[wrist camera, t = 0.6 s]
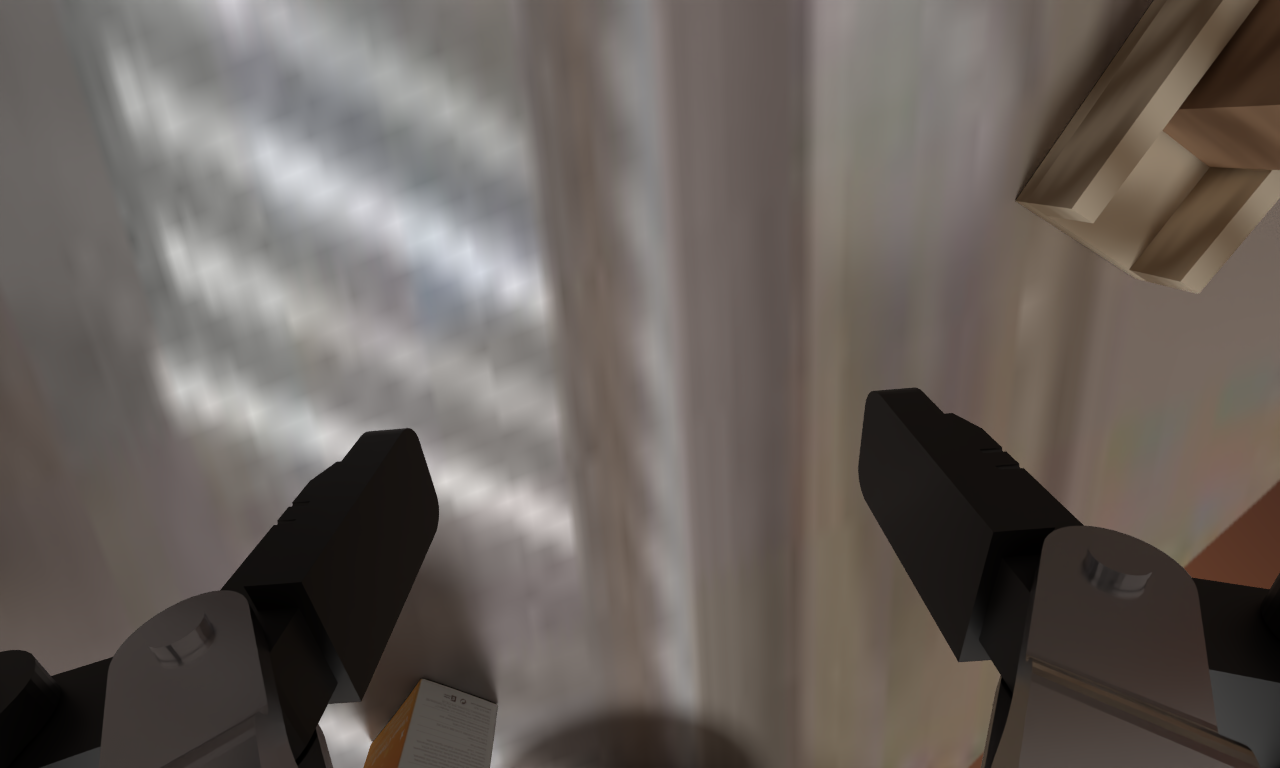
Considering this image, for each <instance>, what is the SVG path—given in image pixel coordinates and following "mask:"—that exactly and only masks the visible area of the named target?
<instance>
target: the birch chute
mask: <svg viewBox="0 0 1280 768" xmlns="http://www.w3.org/2000/svg"><path fill="white" fill-rule="evenodd" d="M1258 1H1259V0H1154V1H1153V2H1152V3H1151V5H1150V6H1149V8H1148V9H1147V11H1146V12H1145V14H1144V15H1143V16H1142V18H1141V19H1140V21H1139V22H1138V24H1137V25H1136V27H1135V28H1134V30H1133V31H1132V32H1131V34H1130V35H1129V37H1128V38H1127V40H1126V41H1125V43H1124V44H1123V46H1122V47H1121V48H1120V50H1119V51H1118V53H1117V54H1116V56H1115V57H1114V59H1113V60H1112V61H1111V63H1110V64H1109V66H1108V67H1107V69H1106V70H1105V72H1104V73H1103V75H1102V76H1101V77H1100V79H1099V80H1098V82H1097V83H1096V85H1095V86H1094V88H1093V89H1092V90H1091V92H1090V93H1089V95H1088V96H1087V98H1086V99H1085V101H1084V102H1083V104H1082V105H1081V106H1080V108H1079V109H1078V111H1077V112H1076V114H1075V115H1074V117H1073V118H1072V119H1071V121H1070V122H1069V124H1068V125H1067V127H1066V128H1065V130H1064V131H1063V133H1062V134H1061V135H1060V137H1059V138H1058V140H1057V141H1056V143H1055V144H1054V146H1053V147H1052V148H1051V150H1050V151H1049V153H1048V154H1047V156H1046V157H1045V159H1044V160H1043V162H1042V163H1041V164H1040V166H1039V167H1038V169H1037V170H1036V172H1035V173H1034V175H1033V176H1032V178H1031V179H1030V180H1029V182H1028V183H1027V185H1026V186H1025V188H1024V189H1023V191H1022V192H1021V193H1020V195H1019V196H1018V198H1017V199H1016V202H1018V203H1019V204H1021V205H1022V206H1024V207H1025V208H1027V209H1028V210H1030V211H1032V212H1033V213H1035V214H1036V215H1038V216H1039V217H1041V218H1042V219H1044V220H1045V221H1047V222H1049V223H1050V224H1052V225H1053V226H1055V227H1056V228H1058V229H1059V230H1061V231H1062V232H1064V233H1065V234H1067V235H1069V236H1070V237H1072V238H1073V239H1075V240H1076V241H1078V242H1079V243H1081V244H1082V245H1084V246H1086V247H1087V248H1089V249H1090V250H1092V251H1093V252H1095V253H1096V254H1098V255H1099V256H1101V257H1102V258H1104V259H1106V260H1107V261H1109V262H1110V263H1112V264H1113V265H1115V266H1116V267H1118V268H1119V269H1121V270H1123V271H1124V272H1126V273H1127V274H1129V275H1130V276H1132V277H1133V278H1136V279H1140V280H1144V281H1148V282H1152V283H1156V284H1160V285H1164V286H1168V287H1172V288H1176V289H1180V290H1184V291H1188V292H1193V293H1197V294H1199V293H1200V292H1201V291H1202V290H1203V288H1204V287H1205V286H1206V285H1207V284H1208V283H1209V281H1210V280H1211V279H1212V278H1213V277H1214V275H1215V274H1216V273H1217V272H1218V271H1219V269H1220V268H1221V267H1222V266H1223V265H1224V264H1225V262H1226V261H1227V260H1228V259H1229V258H1230V256H1231V255H1232V254H1233V253H1234V252H1235V250H1236V249H1237V248H1238V247H1239V246H1240V245H1241V243H1242V242H1243V241H1244V240H1245V239H1246V237H1247V236H1248V235H1249V234H1250V233H1251V231H1252V230H1253V229H1254V228H1255V227H1256V226H1257V224H1258V223H1259V222H1260V221H1261V220H1262V218H1263V217H1264V216H1265V215H1266V214H1267V212H1268V211H1269V210H1270V209H1271V208H1272V207H1273V205H1274V204H1275V203H1276V202H1277V201H1278V199H1279V198H1280V170H1265V169H1243V168H1221V167H1208V166H1207V165H1206V164H1205V163H1203V162H1202V161H1201V160H1199V159H1198V158H1197V157H1196V156H1194V155H1193V154H1192V153H1190V152H1189V151H1188V150H1187V149H1185V148H1184V147H1183V146H1181V145H1180V144H1179V143H1178V142H1176V141H1175V140H1174V139H1172V138H1171V137H1170V136H1169V135H1167V134H1166V133H1165V132H1163V131H1162V130H1163V129H1164V128H1165V126H1166V125H1167V124H1168V122H1169V121H1170V120H1171V118H1172V117H1173V116H1174V114H1175V113H1176V112H1177V110H1178V109H1179V108H1180V106H1181V105H1182V104H1183V102H1184V101H1185V99H1186V98H1187V97H1188V95H1189V94H1190V93H1191V91H1192V90H1193V89H1194V87H1195V86H1196V85H1197V83H1198V82H1199V81H1200V79H1201V78H1202V77H1203V75H1204V74H1205V73H1206V71H1207V70H1208V69H1209V67H1210V66H1211V65H1212V63H1213V62H1214V61H1215V59H1216V58H1217V57H1218V55H1219V54H1220V52H1221V51H1222V50H1223V48H1224V47H1225V46H1226V44H1227V43H1228V42H1229V40H1230V39H1231V38H1232V36H1233V35H1234V34H1235V32H1236V31H1237V30H1238V28H1239V27H1240V26H1241V24H1242V23H1243V22H1244V20H1245V19H1246V18H1247V16H1248V15H1249V14H1250V12H1251V11H1252V10H1253V8H1254V7H1255V5H1256V4H1257V3H1258Z"/></svg>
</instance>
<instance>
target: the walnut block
mask: <svg viewBox="0 0 1280 768" xmlns="http://www.w3.org/2000/svg"><path fill="white" fill-rule="evenodd" d="M1162 131H1163V132H1165V133H1166V134H1167V135H1169V136H1170V137H1171V138H1172V139H1174V140H1175V141H1176V142H1178V143H1179V144H1180V145H1181V146H1183V147H1184V148H1185V149H1187V150H1188V151H1189V152H1190V153H1192V154H1193V155H1194V156H1196V157H1197V158H1198V159H1199V160H1201V161H1202V162H1203V163H1205V164H1206V165H1207V166H1208V167H1221V168H1243V169H1265V170H1280V0H1259V1H1258V3H1257V4H1256V5H1255V7H1254V8H1253V10H1252V11H1251V12H1250V14H1249V15H1248V16H1247V18H1246V19H1245V20H1244V22H1243V23H1242V24H1241V26H1240V27H1239V28H1238V30H1237V31H1236V32H1235V34H1234V35H1233V36H1232V38H1231V39H1230V40H1229V42H1228V43H1227V44H1226V46H1225V47H1224V48H1223V50H1222V51H1221V52H1220V54H1219V55H1218V57H1217V58H1216V59H1215V61H1214V62H1213V63H1212V65H1211V66H1210V67H1209V69H1208V70H1207V71H1206V73H1205V74H1204V75H1203V77H1202V78H1201V79H1200V81H1199V82H1198V83H1197V85H1196V86H1195V87H1194V89H1193V90H1192V91H1191V93H1190V94H1189V95H1188V97H1187V98H1186V99H1185V101H1184V102H1183V104H1182V105H1181V106H1180V108H1179V109H1178V110H1177V112H1176V113H1175V114H1174V116H1173V117H1172V118H1171V120H1170V121H1169V122H1168V124H1167V125H1166V126H1165V128H1164V129H1163V130H1162Z"/></svg>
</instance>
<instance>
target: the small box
mask: <svg viewBox="0 0 1280 768" xmlns="http://www.w3.org/2000/svg"><path fill="white" fill-rule="evenodd" d="M497 710H498V705H496V704H494V703H491V702H489V701H486V700H484V699H481V698H478V697H475V696H472V695H469V694H467V693H464V692H461V691H458V690H455V689H453V688H450V687H447V686H444V685H441V684H438V683H435V682H432V681H429V680H426V679H420V681H419V682H418V684H417V685H416V687H415V688H414V690H413V691H412V692H411V694H410V695H409V696H408V698H407V699H406V701H405V702H404V703H403V704H402V706H401V707H400V708H399V710H398V711H397V712H396V714H395V715H394V716H393V718H392V719H391V720H390V721H389V723H388V724H387V725H386V726H385V728H384V729H383V730H382V731H381V733H380V734H379V735H378V736H377V738H376V739H375V740H374V741H373V742H372V744H371V746H370V749H369V752H368V755H367V759H366V762H365V765H364V768H490V763H491V755H492V748H493V741H494V733H495V725H496V717H497Z"/></svg>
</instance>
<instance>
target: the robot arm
mask: <svg viewBox="0 0 1280 768" xmlns="http://www.w3.org/2000/svg"><path fill="white" fill-rule="evenodd" d="M858 473H859V482H860V487H861V491H862V494H863V496H864V499H865V501H866V503H867V504H868V506H869V508H870V510H871V511H872V513H873V515H874V516H875V518H876V520H877V522H878V523H879V525H880V527H881V529H882V530H883V532H884V534H885V535H886V537H887V539H888V541H889V542H890V544H891V546H892V548H893V549H894V551H895V553H896V555H897V556H898V558H899V560H900V561H901V563H902V565H903V567H904V568H905V570H906V572H907V574H908V575H909V577H910V579H911V580H912V582H913V584H914V586H915V587H916V589H917V591H918V593H919V594H920V596H921V598H922V600H923V601H924V603H925V605H926V606H927V608H928V610H929V612H930V613H931V615H932V617H933V619H934V620H935V622H936V624H937V626H938V627H939V629H940V631H941V632H942V634H943V636H944V638H945V639H946V641H947V643H948V645H949V646H950V648H951V650H952V651H953V653H954V655H955V657H956V658H957V660H958V662H968V661H982V660H992V662H993V663H994V665H995V667H996V668H997V670H998V671H999V673H1000V674H1001V676H1000V679H999V682H998V685H997V688H996V692H995V697H994V702H993V708H992V713H991V718H990V723H989V728H988V734H987V739H986V744H985V749H984V754H983V760H982V765H981V768H1280V573H1279V575H1278V577H1277V578H1276V580H1275V582H1274V583H1273V585H1272V587H1271V588H1270V589H1263V588H1256V587H1250V586H1243V585H1237V584H1230V583H1224V582H1217V581H1210V580H1204V579H1197V578H1191V576H1190V575H1189V574H1188V573H1187V572H1186V570H1185V569H1184V568H1183V567H1182V566H1181V565H1179V564H1178V563H1177V562H1176V561H1175V560H1174V559H1172V558H1171V557H1169V556H1168V555H1167V554H1165V553H1164V552H1162V551H1160V550H1159V549H1157V548H1155V547H1154V546H1152V545H1150V544H1148V543H1146V542H1144V541H1142V540H1139V539H1137V538H1134V537H1132V536H1130V535H1127V534H1124V533H1120V532H1117V531H1114V530H1109V529H1105V528H1100V527H1093V526H1084V525H1083V524H1082V523H1081V522H1080V521H1078V520H1077V519H1076V518H1075V517H1074V516H1073V515H1072V514H1071V513H1070V512H1069V511H1068V510H1067V509H1066V508H1065V507H1064V506H1063V505H1062V504H1061V503H1060V502H1059V501H1057V500H1056V499H1055V498H1054V497H1053V496H1052V495H1051V494H1050V493H1049V492H1048V491H1047V490H1046V489H1045V488H1044V487H1043V486H1042V485H1041V484H1040V483H1039V482H1038V481H1037V480H1035V479H1034V478H1033V477H1032V476H1031V475H1030V474H1029V473H1028V472H1027V471H1026V470H1025V469H1024V468H1020V467H1019V463H1018V462H1017V461H1016V460H1014V459H1013V458H1012V457H1011V456H1010V455H1009V454H1008V453H1007V452H1003V451H1002V447H1001V446H1000V445H999V444H998V443H997V442H996V441H995V440H994V439H992V438H991V437H990V436H989V435H988V434H987V433H986V432H985V431H984V430H983V429H982V428H980V427H978V426H976V425H974V424H972V423H970V422H969V421H967V420H965V419H963V418H961V417H959V416H957V415H955V414H953V413H948V414H944V413H943V412H942V411H941V410H940V409H939V408H938V407H937V406H936V405H935V404H934V403H933V402H932V401H931V400H930V399H929V398H928V397H927V396H926V395H925V394H924V393H923V392H922V391H921V390H920V389H918V388H904V389H892V390H880V391H872V392H870V393H869V395H868V397H867V399H866V404H865V412H864V421H863V429H862V438H861V447H860V456H859V465H858ZM292 503H293V506H292V507H288V508H287V510H286V511H285V512H284V513H283V514H282V516H281V517H280V518H279V519H278V524H277V525H273V527H272V528H271V529H270V530H269V531H268V533H267V534H266V535H265V536H264V538H263V539H262V540H261V541H260V542H259V544H258V545H257V546H256V547H255V549H254V550H253V551H252V552H251V553H250V555H249V556H248V557H247V558H246V559H245V561H244V562H243V563H242V564H241V566H240V567H239V568H238V569H237V570H236V572H235V573H234V574H233V575H232V576H231V578H230V579H229V580H228V581H227V583H226V584H225V585H224V586H223V587H222V589H221V590H220V591H212V592H207V593H203V594H200V595H196V596H193V597H191V598H188V599H186V600H183V601H181V602H179V603H177V604H175V605H173V606H171V607H169V608H167V609H165V610H164V611H162V612H160V613H158V614H157V615H155V616H154V617H153V618H151V619H150V620H148V621H147V622H145V623H144V624H143V625H142V626H140V627H139V628H138V629H137V630H136V631H135V632H134V633H132V634H131V635H130V636H129V637H128V638H127V639H126V641H125V642H124V643H123V644H122V645H121V646H120V647H119V649H118V650H117V652H116V653H115V655H114V656H113V657H111V658H108V659H105V660H102V661H98V662H95V663H92V664H89V665H86V666H82V667H79V668H76V669H73V670H70V671H66V672H63V673H60V674H57V675H53V676H50V675H49V673H48V672H47V671H46V670H45V669H44V668H43V667H42V665H41V664H40V663H39V662H38V661H37V660H36V659H35V657H34V656H33V655H32V654H31V653H29V652H26V651H21V650H9V651H3V652H0V768H333V765H332V762H331V758H330V754H329V751H328V747H327V744H326V740H325V736H324V734H323V732H322V730H321V728H320V726H319V724H318V723H319V721H320V719H321V717H322V715H323V713H324V711H325V709H326V707H327V704H333V703H347V702H361V701H362V699H363V696H364V694H365V692H366V690H367V687H368V685H369V683H370V681H371V678H372V676H373V674H374V672H375V669H376V667H377V665H378V662H379V660H380V658H381V656H382V653H383V651H384V649H385V647H386V644H387V642H388V640H389V637H390V635H391V633H392V631H393V628H394V626H395V624H396V622H397V619H398V617H399V615H400V613H401V610H402V608H403V606H404V603H405V601H406V599H407V597H408V594H409V592H410V590H411V588H412V585H413V583H414V581H415V578H416V576H417V574H418V572H419V569H420V567H421V565H422V563H423V560H424V558H425V556H426V554H427V551H428V549H429V547H430V544H431V542H432V540H433V538H434V535H435V533H436V530H437V526H438V520H439V505H438V499H437V495H436V492H435V489H434V485H433V482H432V479H431V476H430V473H429V470H428V466H427V463H426V460H425V457H424V454H423V451H422V448H421V444H420V441H419V439H418V436H417V434H416V433H415V432H414V431H413V430H412V429H410V428H405V429H393V430H380V431H368V432H365V433H364V434H363V435H362V436H361V437H360V438H359V440H358V441H357V442H356V443H355V445H354V446H353V447H352V448H351V450H350V451H349V452H348V454H347V455H346V456H345V457H344V459H343V460H342V461H341V462H336V463H334V464H333V465H332V466H330V467H329V468H327V469H326V470H325V471H323V472H322V473H320V474H319V475H318V476H316V477H315V478H314V479H312V480H311V481H310V482H309V483H308V484H307V485H306V487H305V488H304V489H303V490H302V491H301V493H300V494H299V495H298V496H297V497H296V499H295V500H294V501H293V502H292Z"/></svg>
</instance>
